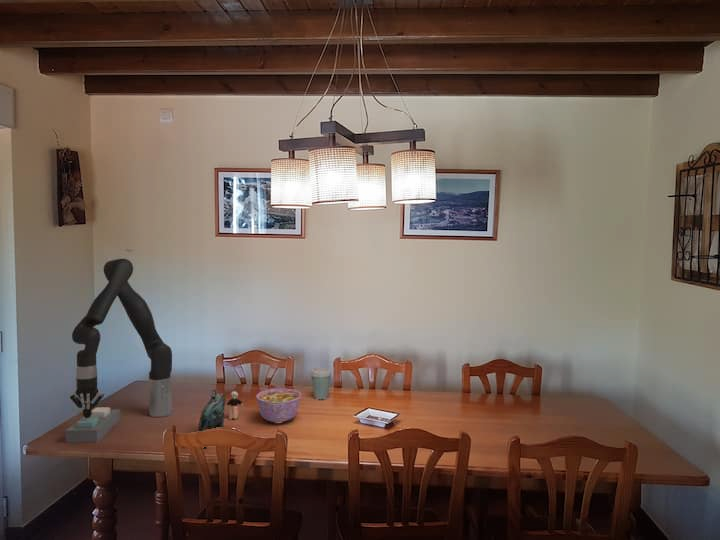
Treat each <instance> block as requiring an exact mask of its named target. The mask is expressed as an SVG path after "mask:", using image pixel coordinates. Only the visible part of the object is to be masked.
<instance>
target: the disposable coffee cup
mask: <svg viewBox="0 0 720 540" xmlns="http://www.w3.org/2000/svg"><path fill="white" fill-rule="evenodd" d="M331 375H332V372H331V371H330V369H328V368H324V367H314V368H312V369H311V371H310V376H311V385H312V391H313V397H314V399H315V398H318V399H324V398H327V399H328V395H329V389H330V383H331V378H332V377H331Z"/></svg>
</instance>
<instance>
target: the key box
mask: <svg viewBox="0 0 720 540" xmlns="http://www.w3.org/2000/svg"><path fill="white" fill-rule="evenodd" d="M83 417H84V416H83V415H82V417H80V418H79V419H78V420H77V421H76V422H75V423H73V424H72V425H70V427H68V428H67V429H65V443H67V444H68V443H73V444H74V443H76V444H77V443H78V444H80V443H99V441H100V440H101V439H102V438H103V437H104V436H106V434H108V433H109V432H110V431H111V430H112V429H113V428H114V427H115V426H116V425H117V424H118V423H119V422H120V421H121V410H120V409H117V408H116V409H110V414H108V415H107V416H106V417H99V423H98V424H97V425H96V426H95V427H93V428H77V422H78V421H80V420H81V419H82V418H83ZM114 425H115V426H114ZM113 426H114V427H113ZM112 427H113V428H112ZM111 428H112V429H111ZM110 429H111V430H110ZM109 430H110V431H109Z"/></svg>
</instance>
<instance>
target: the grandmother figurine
mask: <svg viewBox="0 0 720 540" xmlns="http://www.w3.org/2000/svg"><path fill="white" fill-rule="evenodd" d="M230 396H231V398H230V399H229V400H228V402H227V403H226V404H225V409H228V408H229V414H228V415H229V417H228V419H232V418H233V420H234V419H237V418H238V419H239V405H240V406H241V408H242V407H244V405H243V402H242V400H240V399H238V397H239V393H238V392H237V391H231V393H230ZM238 419H237V420H238Z"/></svg>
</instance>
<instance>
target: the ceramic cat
mask: <svg viewBox="0 0 720 540" xmlns="http://www.w3.org/2000/svg"><path fill="white" fill-rule="evenodd" d="M210 393H211V394H210V399H209V401H208V402H207V403H205V405H204V407H203V409H202V411H201V414H200V417H199V423H198V432H199V431H203V430H206V429H212V428H216V427H223V428H225V427H224V426H225V425H224V420H225V406H226V396H225V394H224V393H220V392H219V391H218V390H217V389H213V390H212V391H211V392H210Z"/></svg>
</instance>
